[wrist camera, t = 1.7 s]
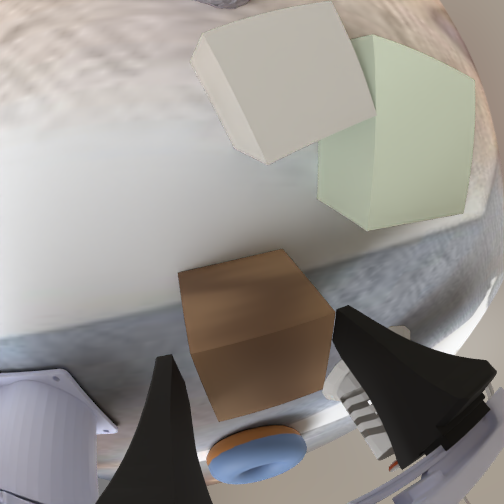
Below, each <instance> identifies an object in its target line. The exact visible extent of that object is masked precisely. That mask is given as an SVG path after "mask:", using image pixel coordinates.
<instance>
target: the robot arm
mask: <svg viewBox="0 0 504 504" xmlns="http://www.w3.org/2000/svg"><path fill="white" fill-rule="evenodd" d="M332 341H333V343H334V345H335V347H336V349H337V351H338V353H339V354H340V356H341V358H342V360H343V361H344V363H345V364H346V365H347V367H348V368H349V370H350V371H351V373H352V374H353V375H354V377H355V378H356V380H357V381H358V382H359V384H360V385H361V387H362V388H363V390H364V391H365V392H366V394H367V395H368V397H369V399H370V400H371V402H372V404H373V406H374V408H375V410H376V412H377V414H378V416H379V418H380V420H381V422H382V424H383V426H384V428H385V430H386V433H387V435H388V437H389V440H390V442H391V445H392V448H393V450H394V453H395V456H396V459H397V462H398V464H399V466H400V468H401V469H402V470H403V469H404V468H406V467H407V466H409V465H410V464H412V463H413V462H414V461H416V460H417V459H419V458H420V457H422V456H423V455H424V454H425V455H426V457H424V458H423V459H422V460H420V461H419V462H417V463H416V464H415V465H413V466H412V467H410V468H409V469H407V470H406V471H404V472H403V473H401V474H400V475H398V476H396V477H395V478H393V479H392V480H390V481H388V482H386V483H385V484H383V485H381V486H380V487H378V488H376V489H374V490H372V491H371V492H369V493H367V494H365V495H363V496H361V497H359V498H357V499H355V500H353V501H351V502H349V503H347V504H375V503H377V502H379V501H381V500H383V499H384V498H386V497H388V496H389V495H391V494H392V493H394V492H396V491H397V490H399V489H401V488H402V487H404V486H405V485H407V484H408V483H410V482H411V481H413V480H414V479H416V478H417V477H419V476H420V475H421V474H422V477H421V480H420V481H418V482H417V483H415V484H413V485H412V486H410V487H408V488H407V489H405V490H404V491H402V492H401V493H400V494H398V495H397V496H395V497H394V498H393V499H392V500H393V501H394V503H395V504H458V503H459V502H460V501H461V500H462V499H463V498H464V497H465V496H466V495H467V494H468V492H469V491H470V490H471V489H472V488H473V487H474V486H475V484H476V483H477V482H478V481H479V480H480V478H481V477H482V476H483V475H484V473H485V472H486V471H487V470H488V468H489V467H490V466H491V464H492V463H493V461H494V460H495V459H496V457H497V456H498V455H499V453H500V452H501V450H502V449H503V447H504V390H503V388H502V387H500V388H499V389H498V390H497V391H496V392H495V394H494V395H493V396H492V397H491V398H490V399H489V400H488V401H487V403H485V402H484V401H483V399H484V398H485V396H484V394H483V393H482V392H483V391H484V390H485V388H486V387H487V386H488V385H489V383H490V382H491V381H492V380H493V378H494V377H495V375H496V373H497V371H496V370H495V369H494V368H493V367H492V366H491V365H490V363H489V362H488V361H486V360H480V359H471V358H464V357H459V356H455V355H451V354H447V353H443V352H440V351H437V350H434V349H431V348H428V347H426V346H423V345H421V344H418V343H416V342H413V341H411V340H409V339H407V338H405V337H403V336H401V335H399V334H397V333H395V332H393V331H391V330H390V329H388V328H386V327H384V326H382V325H381V324H379V323H377V322H376V321H374V320H372V319H371V318H369V317H367V316H366V315H364V314H362V313H361V312H359V311H357V310H356V309H354V308H352V307H351V306H349V305H347V306H345V307H342V308H339V309H337V311H336V319H335V326H334V332H333V339H332ZM116 432H118V427H117V426H116V425H115V424H114V423H113V422H112V421H111V420H110V419H109V418H108V417H107V416H106V415H105V414H104V413H103V412H102V411H101V410H100V409H99V408H98V407H97V405H96V404H95V403H94V402H93V401H92V400H91V399H90V398H89V397H88V395H87V394H86V393H85V392H84V391H83V390H82V388H81V387H80V386H79V385H78V384H77V382H76V381H75V380H74V379H73V377H72V376H71V375H70V374H69V373H68V372H67V371H66V370H64V369H53V370H42V371H30V372H15V373H0V504H213V503H212V501H211V498H210V496H209V493H208V490H207V487H206V483H205V480H204V477H203V474H202V471H201V467H200V464H199V460H198V457H197V452H196V447H195V440H194V433H193V425H192V418H191V410H190V403H189V399H188V394H187V390H186V385H185V382H184V380H183V378H182V375H181V373H180V371H179V369H178V367H177V365H176V363H175V360H174V358H173V356H172V354H170V355H165V356H160V357H157V358H156V361H155V366H154V371H153V376H152V380H151V384H150V388H149V392H148V395H147V399H146V402H145V406H144V409H143V412H142V415H141V418H140V421H139V424H138V427H137V429H136V432H135V434H134V437H133V439H132V441H131V444H130V446H129V448H128V450H127V452H126V454H125V457H124V459H123V460H122V462H121V464H120V466H119V468H118V469H117V471H116V473H115V475H114V476H113V478H112V480H111V481H110V483H109V485H108V486H107V487H106V489H105V490H104V492H103V493H102V495H101V496H100V497H99V491H98V476H97V434H109V433H116Z"/></svg>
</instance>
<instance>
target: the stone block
mask: <svg viewBox="0 0 504 504" xmlns="http://www.w3.org/2000/svg"><path fill="white" fill-rule="evenodd" d="M194 1H199V2H202V3H206V4H209V5H212V6H214V7H216V8H229V9H233V8H237V7H239V6H241V5H244V4H245V3H247V2H248V1H249V0H194Z"/></svg>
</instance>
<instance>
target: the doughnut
mask: <svg viewBox="0 0 504 504" xmlns="http://www.w3.org/2000/svg"><path fill="white" fill-rule="evenodd" d="M306 450H307V446H306V443H305V441H304V439H303V438H302V436H301V434H300V433H299V432H298V431H297V430H295V429H293V428H290V427H287V426H282V425H271V426H263V427H257V428H253V429H249V430H245V431H242V432H239V433H236V434H233V435H231V436H229V437H227V438H225V439H223V440H221V441H220V442H218V443H217V444H215V445H214V446H213V447H212V448H211V450H210V451H209V453H208V455H207V458H206V459H207V465H208V467H209V470H210V472H211V474H212V476H213V477H214V478H215V479H217V480H219V481H221V482H224V483H228V484H246V483H252V482H257V481H261V480H265V479H268V478H271V477H274V476H277V475H279V474H282V473H284V472H286V471H288V470H290V469H291V468H293V467H294V466H296V465H297V464H298V463H299V462H300V461H301V460H302V459H303V457H304V455H305V453H306Z"/></svg>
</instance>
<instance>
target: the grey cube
mask: <svg viewBox="0 0 504 504" xmlns="http://www.w3.org/2000/svg"><path fill="white" fill-rule="evenodd" d="M190 64H191V66H192V68H193V69H194V71H195V73H196V75H197V77H198V79H199V81H200V83H201V85H202V86H203V88H204V90H205V92H206V94H207V96H208V98H209V100H210V102H211V104H212V106H213V108H214V110H215V112H216V113H217V115H218V117H219V119H220V121H221V123H222V125H223V127H224V129H225V131H226V133H227V135H228V137H229V139H230V141H231V143H232V145H233V147H234V149H236V150H238V151H240V152H242V153H244V154H246V155H248V156H250V157H252V158H254V159H256V160H258V161H260V162H262V163H264V164H266V165H270V164H272V163H274V162H276V161H278V160H280V159H282V158H284V157H286V156H288V155H290V154H292V153H294V152H296V151H298V150H300V149H302V148H304V147H306V146H309V145H311V144H313V143H315V142H317V141H319V140H321V139H324V138H326V137H328V136H330V135H332V134H335V133H337V132H339V131H341V130H344V129H346V128H348V127H350V126H353V125H355V124H357V123H360V122H362V121H365V120H367V119H369V118H372V117H374V116H377V114H376V110H375V107H374V104H373V101H372V97H371V94H370V91H369V88H368V85H367V82H366V79H365V77H364V74H363V71H362V68H361V66H360V63H359V61H358V58H357V55H356V53H355V51H354V48H353V46H352V43H351V41H350V39H349V36H348V34H347V32H346V30H345V27H344V25H343V23H342V21H341V19H340V17H339V15H338V13H337V11H336V9H335V7H334V5H333V3H332V1H324V2H317V3H310V4H304V5H299V6H293V7H288V8H284V9H279V10H275V11H270V12H266V13H263V14H259V15H255V16H252V17H248V18H245V19H241V20H238V21H235V22H232V23H229V24H226V25H223V26H220V27H217V28H215V29H212V30H209V31H207V32H204V33H202V35H201V37H200V39H199V42H198V44H197V46H196V48H195V51H194V53H193V55H192V58H191V60H190Z"/></svg>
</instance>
